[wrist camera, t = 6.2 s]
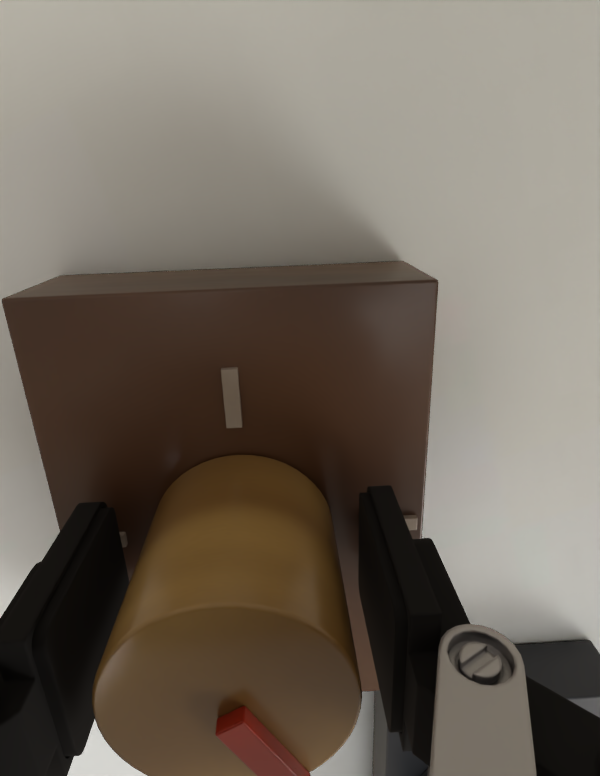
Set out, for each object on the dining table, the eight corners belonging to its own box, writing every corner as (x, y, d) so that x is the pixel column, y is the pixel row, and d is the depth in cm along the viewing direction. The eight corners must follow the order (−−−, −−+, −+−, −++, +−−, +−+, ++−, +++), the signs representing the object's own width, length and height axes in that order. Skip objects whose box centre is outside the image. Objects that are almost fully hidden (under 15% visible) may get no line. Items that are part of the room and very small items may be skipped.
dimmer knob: (116, 510, 12) (21, 702, 8) (271, 420, 11) (269, 572, 7) (221, 624, 14) (194, 845, 9) (364, 552, 13) (412, 749, 8)
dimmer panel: (58, 275, 13) (-5, 300, 10) (404, 260, 13) (442, 281, 10) (131, 627, 17) (102, 716, 14) (390, 610, 18) (413, 694, 15)
